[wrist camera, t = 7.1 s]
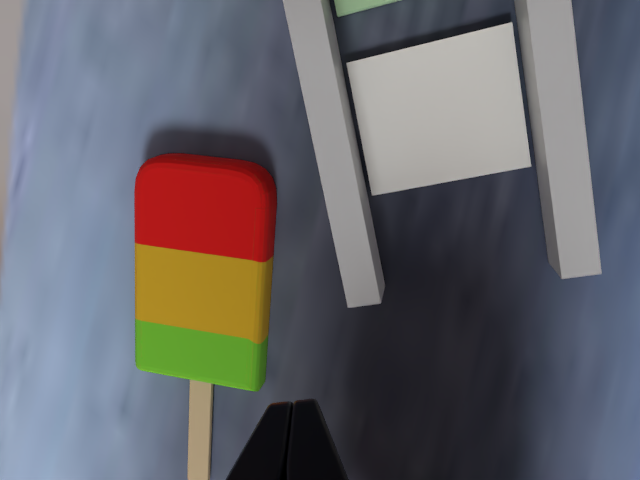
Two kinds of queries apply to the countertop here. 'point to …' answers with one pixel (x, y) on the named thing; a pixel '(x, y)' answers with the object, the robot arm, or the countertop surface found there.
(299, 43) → the frame
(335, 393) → the countertop surface
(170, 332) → the popsicle
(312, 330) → the countertop surface
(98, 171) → the countertop surface
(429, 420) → the countertop surface
